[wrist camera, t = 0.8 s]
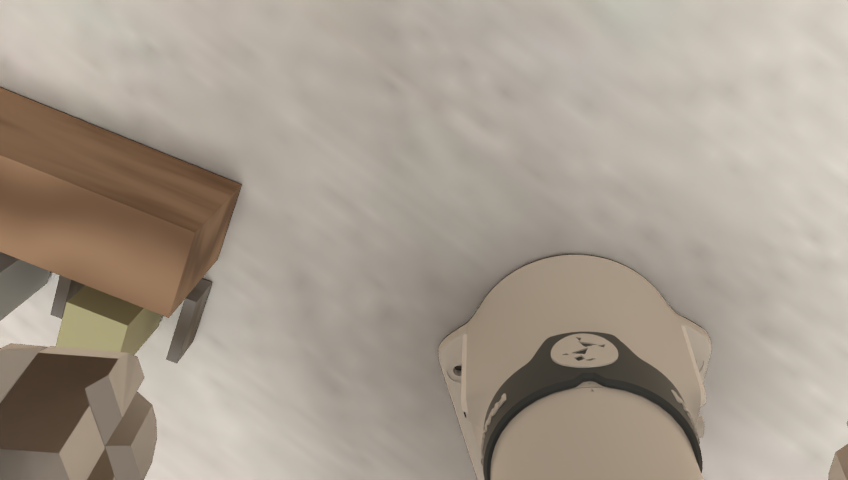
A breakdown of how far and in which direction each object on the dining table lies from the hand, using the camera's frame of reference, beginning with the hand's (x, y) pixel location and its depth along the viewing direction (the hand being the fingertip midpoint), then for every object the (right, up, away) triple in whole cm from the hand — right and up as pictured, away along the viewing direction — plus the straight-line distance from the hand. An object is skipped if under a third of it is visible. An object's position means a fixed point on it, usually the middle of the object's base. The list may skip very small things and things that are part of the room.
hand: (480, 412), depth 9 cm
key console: (-27, +6, +47) cm, 55 cm away
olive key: (-21, -1, +49) cm, 54 cm away
